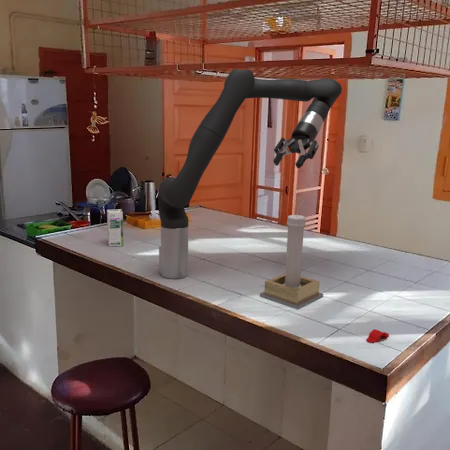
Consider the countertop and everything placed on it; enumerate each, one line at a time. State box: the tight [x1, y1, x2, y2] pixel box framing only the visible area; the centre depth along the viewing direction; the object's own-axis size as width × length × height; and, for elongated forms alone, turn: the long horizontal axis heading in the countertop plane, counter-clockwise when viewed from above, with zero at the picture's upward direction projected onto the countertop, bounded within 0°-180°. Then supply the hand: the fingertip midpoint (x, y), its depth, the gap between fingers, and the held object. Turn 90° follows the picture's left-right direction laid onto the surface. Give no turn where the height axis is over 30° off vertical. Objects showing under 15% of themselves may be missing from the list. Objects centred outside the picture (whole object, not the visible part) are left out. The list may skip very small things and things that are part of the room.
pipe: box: [283, 199, 306, 289], centre depth 151 cm, size 6×6×30 cm
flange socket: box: [259, 273, 324, 310], centre depth 154 cm, size 14×14×5 cm
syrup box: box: [106, 208, 124, 247], centre depth 204 cm, size 6×6×14 cm
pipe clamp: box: [366, 328, 390, 344], centre depth 128 cm, size 8×3×2 cm, turn 128°
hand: (286, 165), depth 162 cm, fingers open, 8 cm apart
